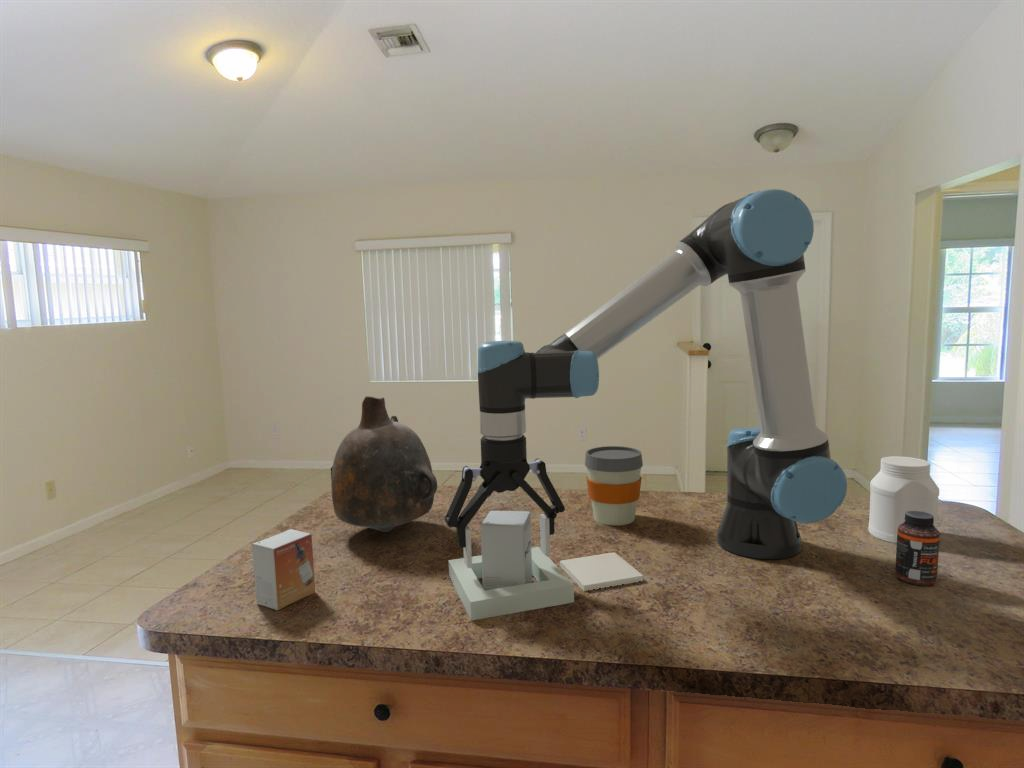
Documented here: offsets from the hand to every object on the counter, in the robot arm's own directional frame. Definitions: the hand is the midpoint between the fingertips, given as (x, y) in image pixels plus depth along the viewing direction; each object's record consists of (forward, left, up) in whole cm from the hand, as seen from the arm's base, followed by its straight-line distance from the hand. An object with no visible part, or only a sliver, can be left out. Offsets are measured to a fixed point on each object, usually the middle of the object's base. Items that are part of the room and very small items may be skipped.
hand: (507, 559), depth 107 cm
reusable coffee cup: (-32, -25, -6) cm, 41 cm away
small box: (+36, -10, -6) cm, 38 cm away
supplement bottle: (-65, +21, -6) cm, 69 cm away
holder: (0, 0, -5) cm, 5 cm away
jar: (-80, +5, -6) cm, 80 cm away
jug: (+17, -36, -6) cm, 40 cm away
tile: (-17, 0, -5) cm, 18 cm away
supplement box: (0, 0, -6) cm, 6 cm away
